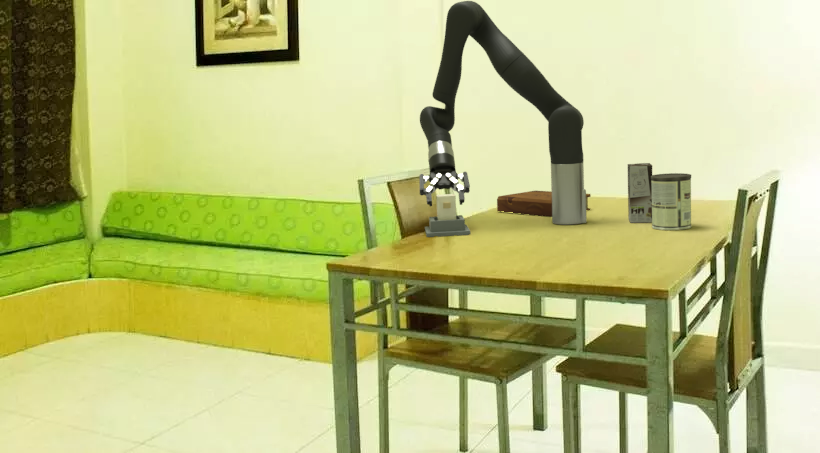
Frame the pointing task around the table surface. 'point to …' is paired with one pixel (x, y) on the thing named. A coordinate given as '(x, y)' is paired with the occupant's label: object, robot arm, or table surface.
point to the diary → (529, 203)
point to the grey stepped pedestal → (447, 227)
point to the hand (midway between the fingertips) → (446, 203)
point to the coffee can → (671, 201)
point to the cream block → (446, 207)
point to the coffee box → (639, 192)
